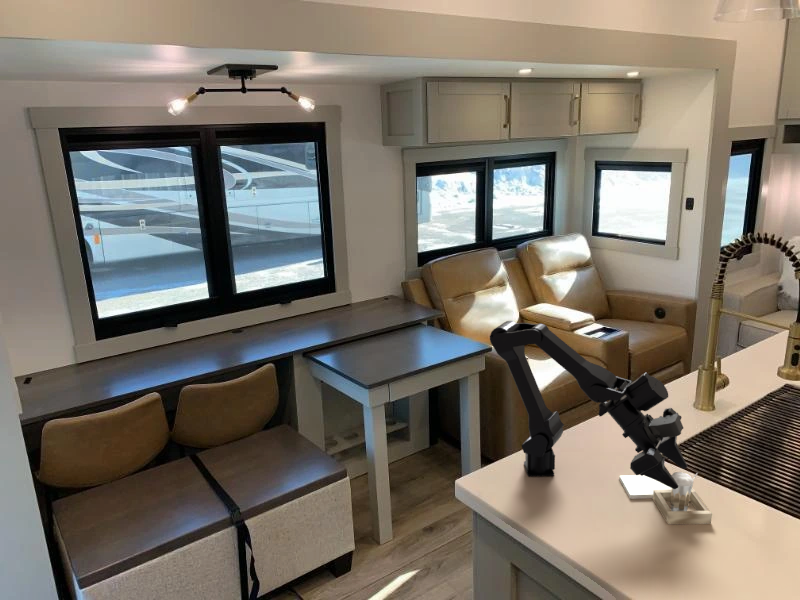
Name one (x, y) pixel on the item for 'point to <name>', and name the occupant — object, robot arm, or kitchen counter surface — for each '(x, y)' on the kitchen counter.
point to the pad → (641, 486)
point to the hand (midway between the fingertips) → (681, 477)
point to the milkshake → (681, 491)
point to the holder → (682, 517)
